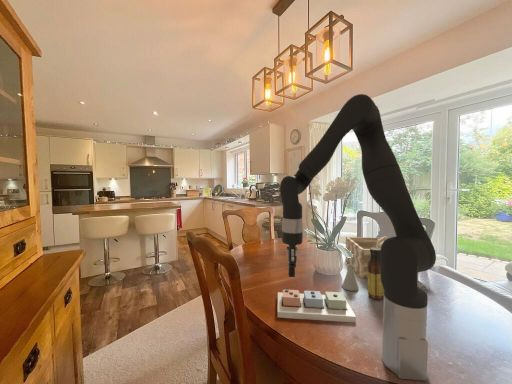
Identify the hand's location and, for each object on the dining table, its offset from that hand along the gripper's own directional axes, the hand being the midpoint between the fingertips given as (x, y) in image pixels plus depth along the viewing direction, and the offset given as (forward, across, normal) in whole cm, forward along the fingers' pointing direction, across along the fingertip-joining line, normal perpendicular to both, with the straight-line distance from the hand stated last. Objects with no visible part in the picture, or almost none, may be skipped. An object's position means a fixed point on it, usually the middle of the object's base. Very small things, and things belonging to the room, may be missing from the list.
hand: (291, 276), depth 84 cm
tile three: (+10, 0, 0) cm, 10 cm away
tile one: (+10, 0, -16) cm, 19 cm away
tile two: (+9, 0, -8) cm, 12 cm away
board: (+12, 0, -8) cm, 14 cm away
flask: (+12, +19, -27) cm, 35 cm away
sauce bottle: (+12, +12, -35) cm, 39 cm away
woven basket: (+12, +44, -49) cm, 67 cm away
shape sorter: (+12, +42, -50) cm, 67 cm away
